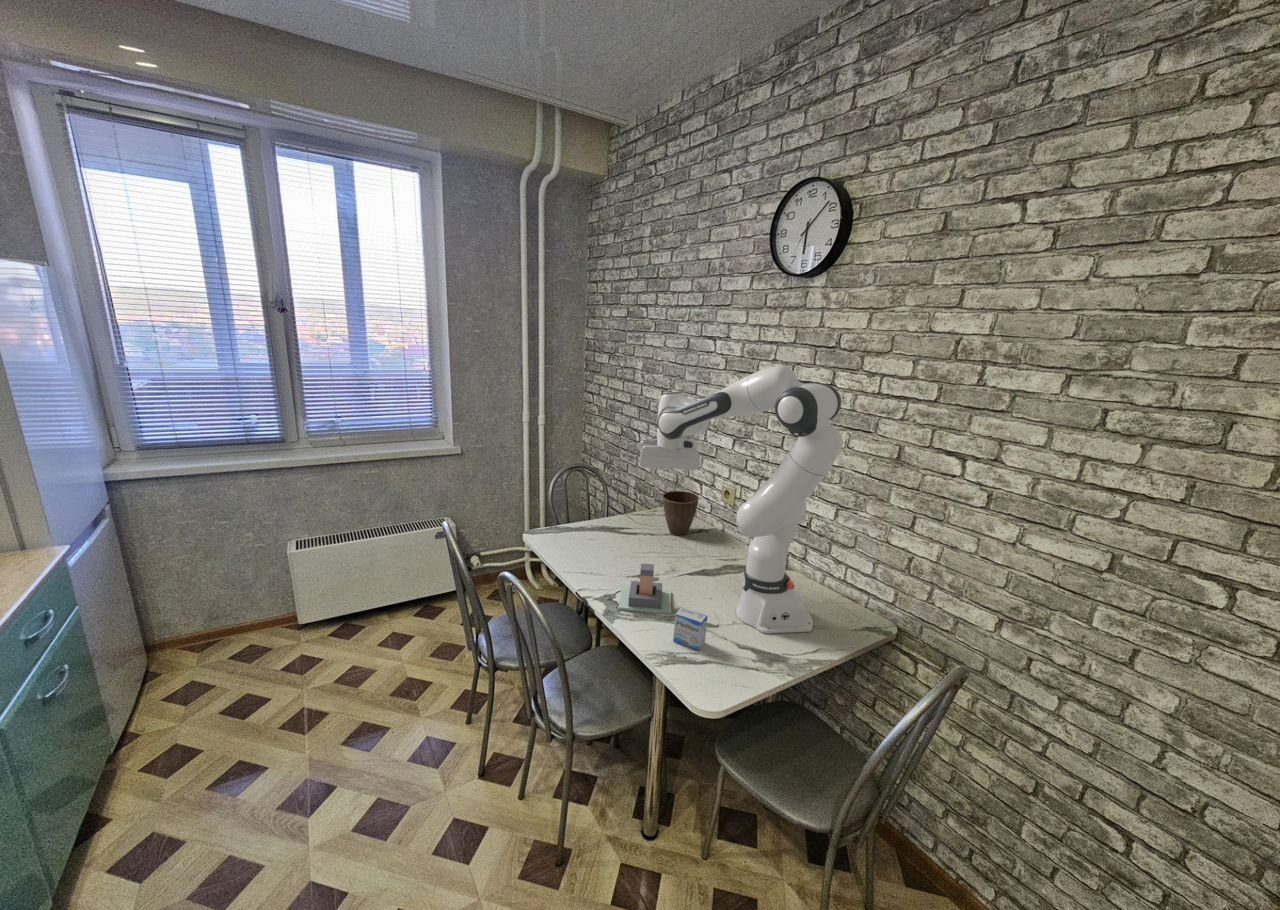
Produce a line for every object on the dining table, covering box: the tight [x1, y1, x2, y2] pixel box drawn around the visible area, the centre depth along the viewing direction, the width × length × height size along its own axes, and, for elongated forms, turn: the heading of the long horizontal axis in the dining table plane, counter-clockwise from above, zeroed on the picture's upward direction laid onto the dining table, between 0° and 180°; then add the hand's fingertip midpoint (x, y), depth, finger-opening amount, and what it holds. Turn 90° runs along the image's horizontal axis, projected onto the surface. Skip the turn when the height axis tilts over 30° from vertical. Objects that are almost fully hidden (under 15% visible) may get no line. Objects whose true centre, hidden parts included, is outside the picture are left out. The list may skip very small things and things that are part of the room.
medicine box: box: [672, 606, 708, 651], centre depth 133 cm, size 8×4×9 cm, turn 62°
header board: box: [617, 580, 672, 615], centre depth 153 cm, size 16×12×4 cm
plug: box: [639, 563, 655, 596], centre depth 152 cm, size 4×4×11 cm
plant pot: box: [662, 490, 699, 537], centre depth 204 cm, size 15×15×16 cm
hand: (668, 480), depth 166 cm, fingers open, 8 cm apart
